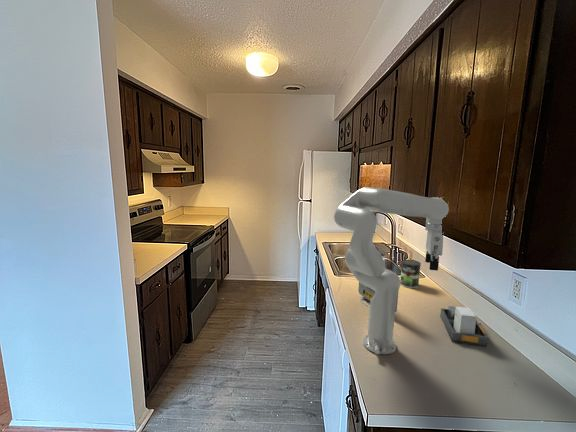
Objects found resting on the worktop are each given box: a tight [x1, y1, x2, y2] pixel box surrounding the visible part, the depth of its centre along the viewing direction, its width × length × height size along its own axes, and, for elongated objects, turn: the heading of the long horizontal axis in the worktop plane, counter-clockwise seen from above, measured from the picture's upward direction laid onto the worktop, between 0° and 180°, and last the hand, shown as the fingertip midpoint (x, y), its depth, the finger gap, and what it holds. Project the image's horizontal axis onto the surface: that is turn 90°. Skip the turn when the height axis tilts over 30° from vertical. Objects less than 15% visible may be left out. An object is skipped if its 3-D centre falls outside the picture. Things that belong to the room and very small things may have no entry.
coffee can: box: [400, 259, 422, 289], centre depth 179 cm, size 10×10×14 cm
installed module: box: [447, 305, 457, 320], centre depth 136 cm, size 6×8×6 cm
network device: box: [357, 281, 400, 313], centre depth 151 cm, size 26×9×20 cm, turn 22°
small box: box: [453, 306, 477, 335], centre depth 126 cm, size 8×6×10 cm
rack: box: [439, 308, 489, 348], centre depth 131 cm, size 22×13×4 cm, turn 165°
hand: (431, 266), depth 129 cm, fingers open, 9 cm apart
